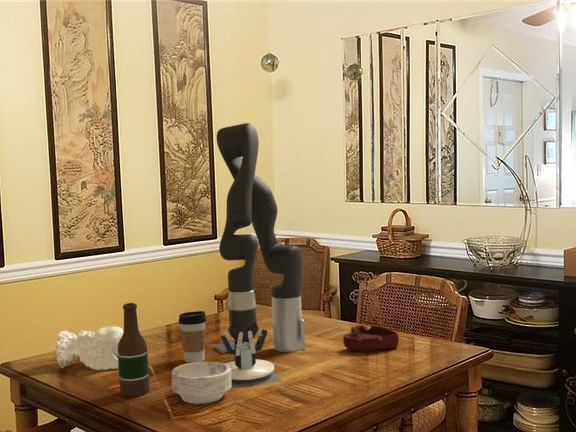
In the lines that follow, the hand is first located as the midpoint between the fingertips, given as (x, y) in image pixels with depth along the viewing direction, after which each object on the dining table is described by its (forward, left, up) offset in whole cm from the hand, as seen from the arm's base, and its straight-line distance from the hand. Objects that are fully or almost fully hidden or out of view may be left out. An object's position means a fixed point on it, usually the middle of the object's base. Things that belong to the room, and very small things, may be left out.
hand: (245, 366), depth 197 cm
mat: (+1, 0, -3) cm, 3 cm away
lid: (0, 0, -1) cm, 1 cm away
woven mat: (-3, -30, -4) cm, 31 cm away
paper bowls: (+15, +12, -3) cm, 19 cm away
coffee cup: (+11, -22, -3) cm, 25 cm away
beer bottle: (+31, 0, -3) cm, 31 cm away
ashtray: (-45, -14, -4) cm, 47 cm away
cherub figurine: (+39, -32, -4) cm, 51 cm away
